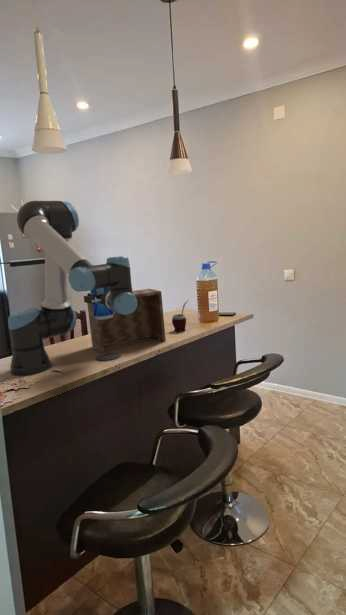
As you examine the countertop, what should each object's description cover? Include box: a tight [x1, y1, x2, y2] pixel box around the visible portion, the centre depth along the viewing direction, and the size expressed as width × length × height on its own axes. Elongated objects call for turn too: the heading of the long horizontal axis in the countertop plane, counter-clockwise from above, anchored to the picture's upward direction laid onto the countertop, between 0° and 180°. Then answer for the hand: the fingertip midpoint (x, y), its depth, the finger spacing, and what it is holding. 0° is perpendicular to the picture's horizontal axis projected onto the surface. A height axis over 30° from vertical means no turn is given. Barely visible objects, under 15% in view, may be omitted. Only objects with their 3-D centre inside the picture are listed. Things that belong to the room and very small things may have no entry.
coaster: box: [95, 352, 122, 362], centre depth 170 cm, size 10×10×1 cm
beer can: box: [89, 287, 114, 320], centre depth 166 cm, size 8×8×16 cm
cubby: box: [86, 288, 167, 355], centre depth 187 cm, size 30×15×23 cm, turn 114°
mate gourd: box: [171, 299, 189, 333], centre depth 207 cm, size 8×8×15 cm
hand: (98, 294), depth 170 cm, fingers closed on beer can, 8 cm apart
